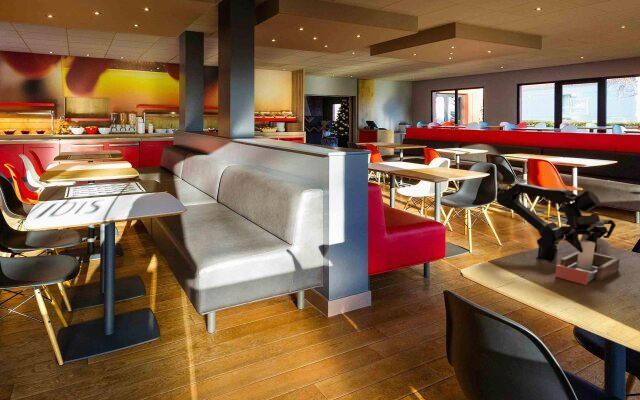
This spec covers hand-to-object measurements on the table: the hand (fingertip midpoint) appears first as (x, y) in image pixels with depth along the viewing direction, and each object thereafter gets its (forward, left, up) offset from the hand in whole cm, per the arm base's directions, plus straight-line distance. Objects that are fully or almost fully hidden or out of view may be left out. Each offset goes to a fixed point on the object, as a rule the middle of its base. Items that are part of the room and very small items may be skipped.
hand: (588, 251), depth 174 cm
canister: (-1, +1, -7) cm, 7 cm away
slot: (-1, +6, -9) cm, 11 cm away
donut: (-5, +23, -9) cm, 25 cm away
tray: (-1, -4, -9) cm, 10 cm away
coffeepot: (-10, +32, -9) cm, 35 cm away
